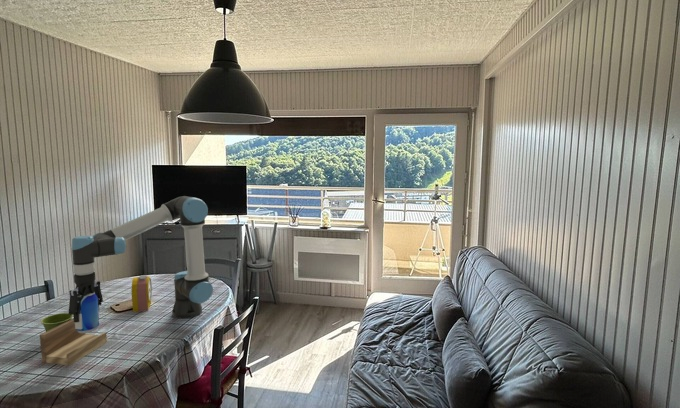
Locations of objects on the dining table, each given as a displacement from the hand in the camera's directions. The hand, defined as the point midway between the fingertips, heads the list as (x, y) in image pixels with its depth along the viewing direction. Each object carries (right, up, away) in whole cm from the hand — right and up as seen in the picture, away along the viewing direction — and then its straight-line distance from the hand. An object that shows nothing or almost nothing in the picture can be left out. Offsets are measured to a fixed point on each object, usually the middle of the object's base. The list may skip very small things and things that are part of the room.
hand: (87, 324), depth 163 cm
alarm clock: (-4, -7, +53) cm, 53 cm away
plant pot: (-21, -12, +12) cm, 27 cm away
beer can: (0, -3, 0) cm, 3 cm away
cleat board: (-7, -13, +3) cm, 15 cm away
